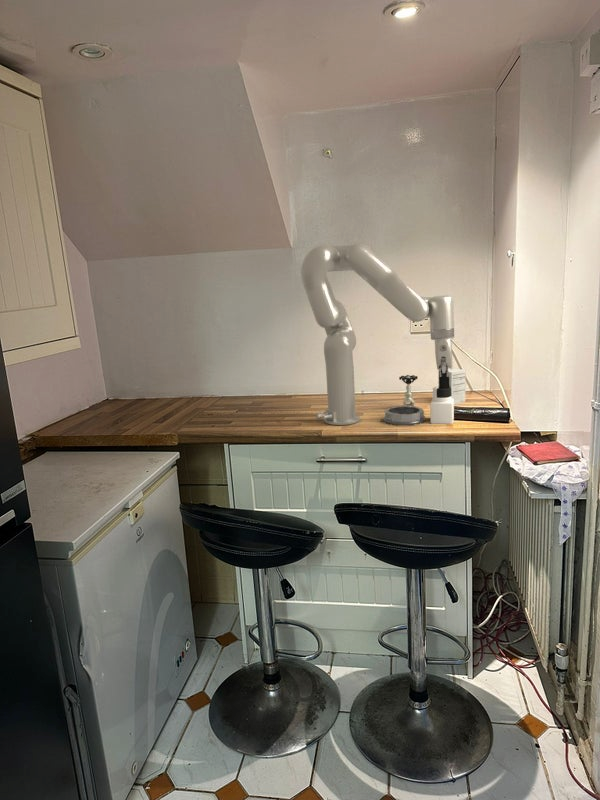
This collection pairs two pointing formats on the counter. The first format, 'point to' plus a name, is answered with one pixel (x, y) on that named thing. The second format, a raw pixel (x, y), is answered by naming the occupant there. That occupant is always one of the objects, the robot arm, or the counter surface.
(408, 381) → the valve
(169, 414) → the counter surface
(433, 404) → the medicine bottle
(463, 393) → the supplement box
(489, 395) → the counter surface
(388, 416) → the ring collar
